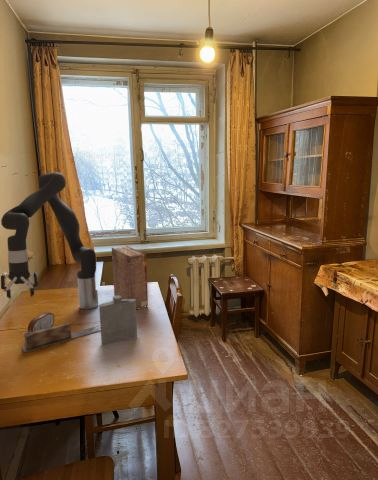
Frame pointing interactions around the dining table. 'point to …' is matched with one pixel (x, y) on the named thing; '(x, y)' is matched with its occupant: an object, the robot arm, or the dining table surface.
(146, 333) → the dining table surface
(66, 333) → the brown wooden block
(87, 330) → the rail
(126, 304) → the hip flask
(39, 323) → the tin
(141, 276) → the book
